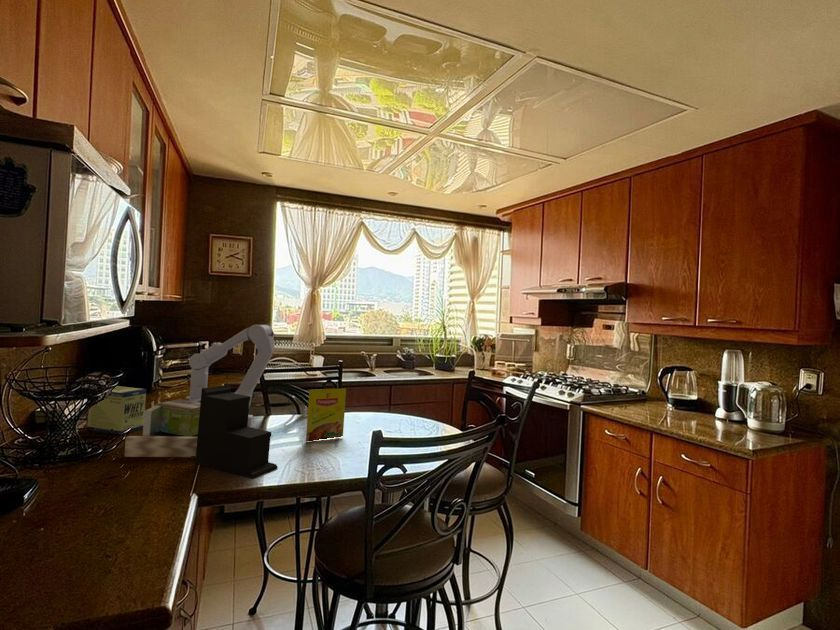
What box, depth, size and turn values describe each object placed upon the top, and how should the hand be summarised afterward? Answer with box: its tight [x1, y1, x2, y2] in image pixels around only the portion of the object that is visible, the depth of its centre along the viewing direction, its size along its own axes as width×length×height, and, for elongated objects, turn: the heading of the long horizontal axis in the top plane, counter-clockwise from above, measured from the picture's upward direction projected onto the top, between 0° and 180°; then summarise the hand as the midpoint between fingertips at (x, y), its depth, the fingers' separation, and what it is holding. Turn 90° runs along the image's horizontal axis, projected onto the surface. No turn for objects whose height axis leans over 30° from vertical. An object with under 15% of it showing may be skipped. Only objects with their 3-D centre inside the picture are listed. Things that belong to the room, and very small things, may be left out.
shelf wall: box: [124, 435, 197, 458], centre depth 140 cm, size 26×2×6 cm, turn 101°
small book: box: [142, 404, 162, 436], centre depth 144 cm, size 2×9×14 cm, turn 11°
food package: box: [305, 388, 347, 442], centre depth 169 cm, size 15×1×20 cm, turn 126°
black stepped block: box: [194, 384, 278, 479], centre depth 134 cm, size 23×11×24 cm, turn 66°
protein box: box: [86, 385, 147, 435], centre depth 165 cm, size 10×16×16 cm
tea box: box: [156, 398, 201, 437], centre depth 152 cm, size 15×10×15 cm
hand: (196, 421), depth 164 cm, fingers closed
